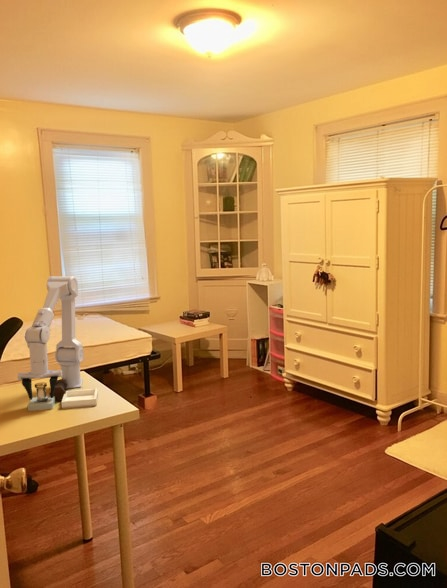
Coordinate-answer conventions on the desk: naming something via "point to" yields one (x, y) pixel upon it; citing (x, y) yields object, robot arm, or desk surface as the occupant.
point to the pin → (41, 391)
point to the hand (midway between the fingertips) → (41, 397)
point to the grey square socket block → (41, 404)
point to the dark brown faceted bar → (59, 389)
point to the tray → (80, 398)
